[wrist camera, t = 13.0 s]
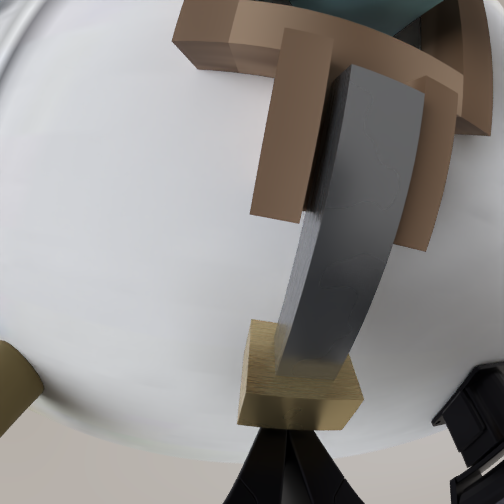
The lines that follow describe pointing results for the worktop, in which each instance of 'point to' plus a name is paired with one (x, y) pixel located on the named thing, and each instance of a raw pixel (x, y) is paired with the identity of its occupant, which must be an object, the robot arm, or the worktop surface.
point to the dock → (327, 70)
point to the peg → (372, 11)
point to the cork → (15, 385)
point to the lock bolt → (335, 258)
